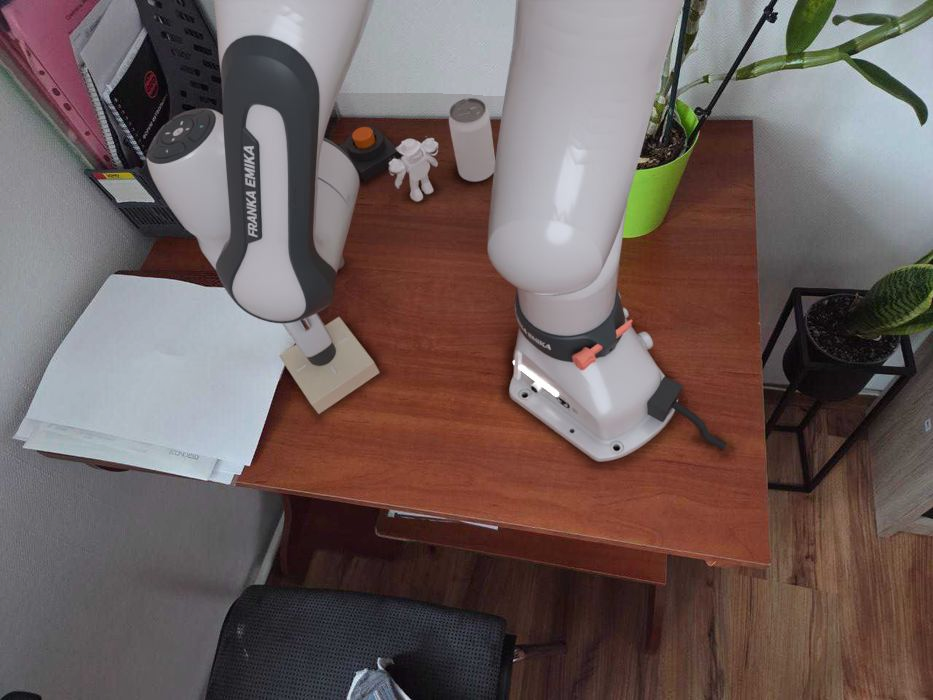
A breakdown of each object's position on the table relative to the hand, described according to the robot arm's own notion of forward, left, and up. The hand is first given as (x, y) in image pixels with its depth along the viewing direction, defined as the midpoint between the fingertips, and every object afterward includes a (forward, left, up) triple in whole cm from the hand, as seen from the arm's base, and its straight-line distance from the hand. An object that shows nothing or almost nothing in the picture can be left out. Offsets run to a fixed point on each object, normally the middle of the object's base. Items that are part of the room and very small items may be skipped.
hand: (297, 321), depth 78 cm
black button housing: (+33, -27, -11) cm, 44 cm away
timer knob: (0, 0, -8) cm, 8 cm away
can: (+17, -39, -11) cm, 44 cm away
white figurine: (+19, -29, -11) cm, 37 cm away
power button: (+33, -27, -7) cm, 43 cm away
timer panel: (-1, 0, -11) cm, 11 cm away
